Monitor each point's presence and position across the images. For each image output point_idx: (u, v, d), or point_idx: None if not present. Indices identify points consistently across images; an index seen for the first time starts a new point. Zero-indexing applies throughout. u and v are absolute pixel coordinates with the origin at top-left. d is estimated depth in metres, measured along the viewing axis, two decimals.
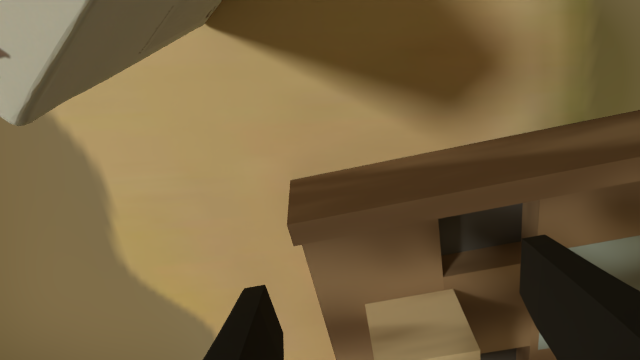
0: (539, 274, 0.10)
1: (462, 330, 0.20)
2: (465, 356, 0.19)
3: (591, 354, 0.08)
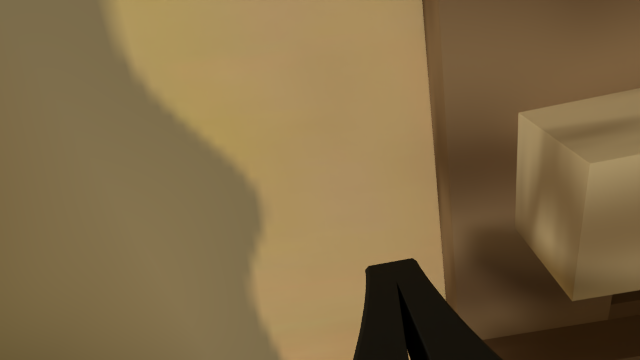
0: (399, 298, 0.10)
1: None
2: None
3: None
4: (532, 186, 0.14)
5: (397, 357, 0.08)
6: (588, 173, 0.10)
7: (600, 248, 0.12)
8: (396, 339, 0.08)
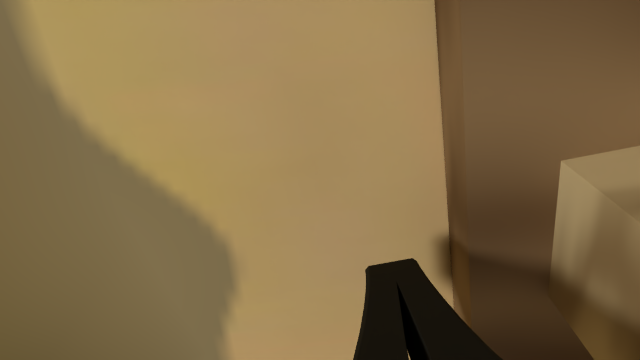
0: (399, 298, 0.10)
1: None
2: None
3: None
4: (579, 257, 0.11)
5: (397, 357, 0.08)
6: None
7: None
8: (396, 339, 0.08)
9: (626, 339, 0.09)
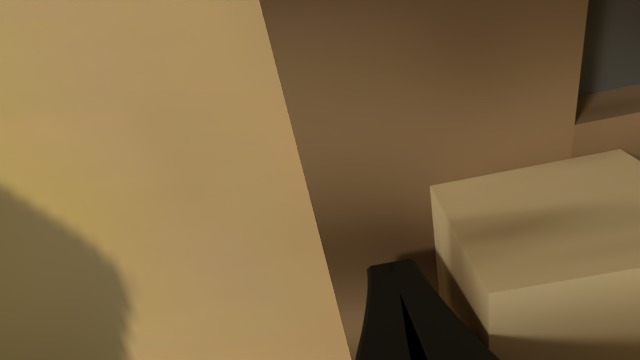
0: None
1: None
2: None
3: None
4: (448, 279, 0.11)
5: (399, 357, 0.08)
6: (488, 305, 0.07)
7: None
8: (398, 339, 0.08)
9: None
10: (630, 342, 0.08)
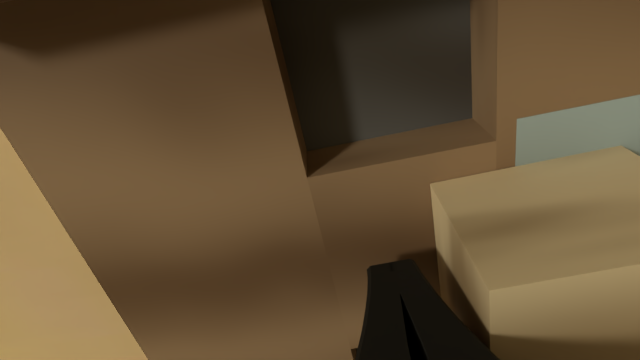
0: None
1: None
2: None
3: None
4: (449, 277, 0.11)
5: (399, 357, 0.08)
6: (489, 301, 0.07)
7: None
8: (398, 339, 0.08)
9: None
10: (632, 339, 0.08)
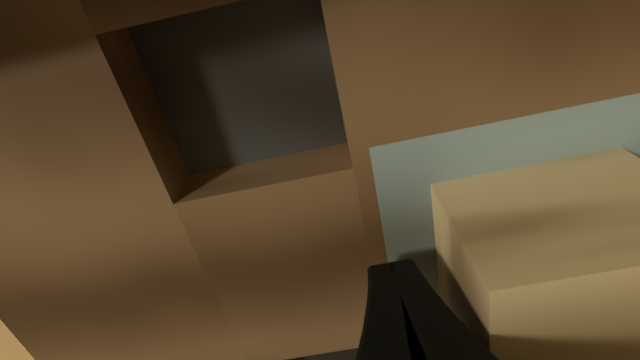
0: None
1: None
2: None
3: None
4: (448, 278, 0.11)
5: (400, 357, 0.08)
6: (488, 303, 0.07)
7: None
8: (398, 339, 0.08)
9: None
10: (631, 341, 0.08)
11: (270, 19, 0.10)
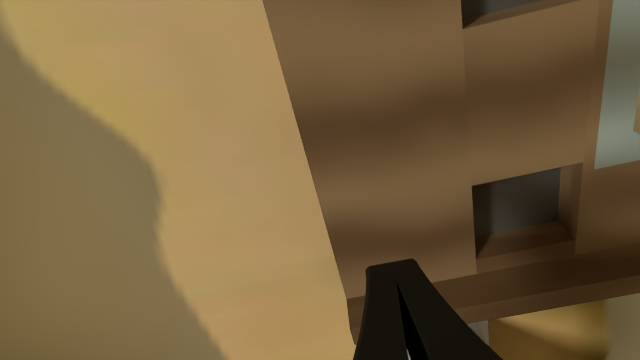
0: (399, 298, 0.10)
1: None
2: None
3: None
4: None
5: (397, 357, 0.08)
6: None
7: None
8: (396, 339, 0.08)
9: None
10: None
11: None
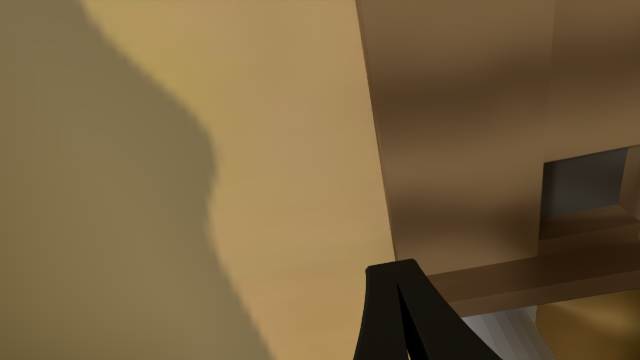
0: (399, 298, 0.10)
1: None
2: None
3: None
4: None
5: (397, 357, 0.08)
6: None
7: None
8: (396, 339, 0.08)
9: None
10: None
11: None
